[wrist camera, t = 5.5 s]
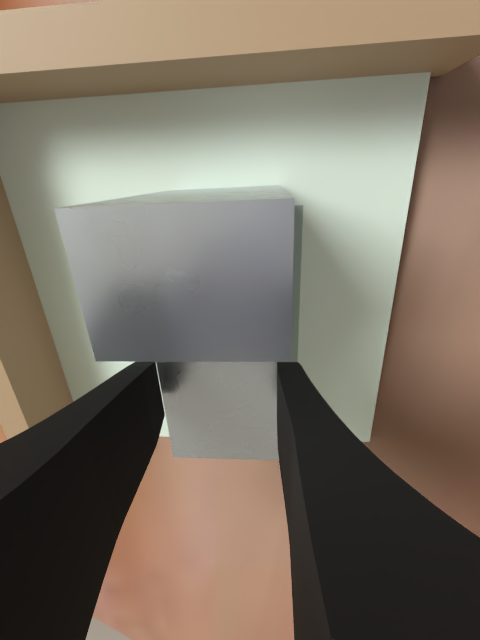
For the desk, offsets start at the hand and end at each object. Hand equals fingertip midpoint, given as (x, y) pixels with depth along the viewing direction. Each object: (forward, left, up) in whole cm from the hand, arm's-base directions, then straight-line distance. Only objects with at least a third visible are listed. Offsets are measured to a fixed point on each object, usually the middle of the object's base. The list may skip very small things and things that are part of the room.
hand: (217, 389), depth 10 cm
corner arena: (+1, -1, -5) cm, 5 cm away
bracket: (0, -2, -4) cm, 5 cm away
